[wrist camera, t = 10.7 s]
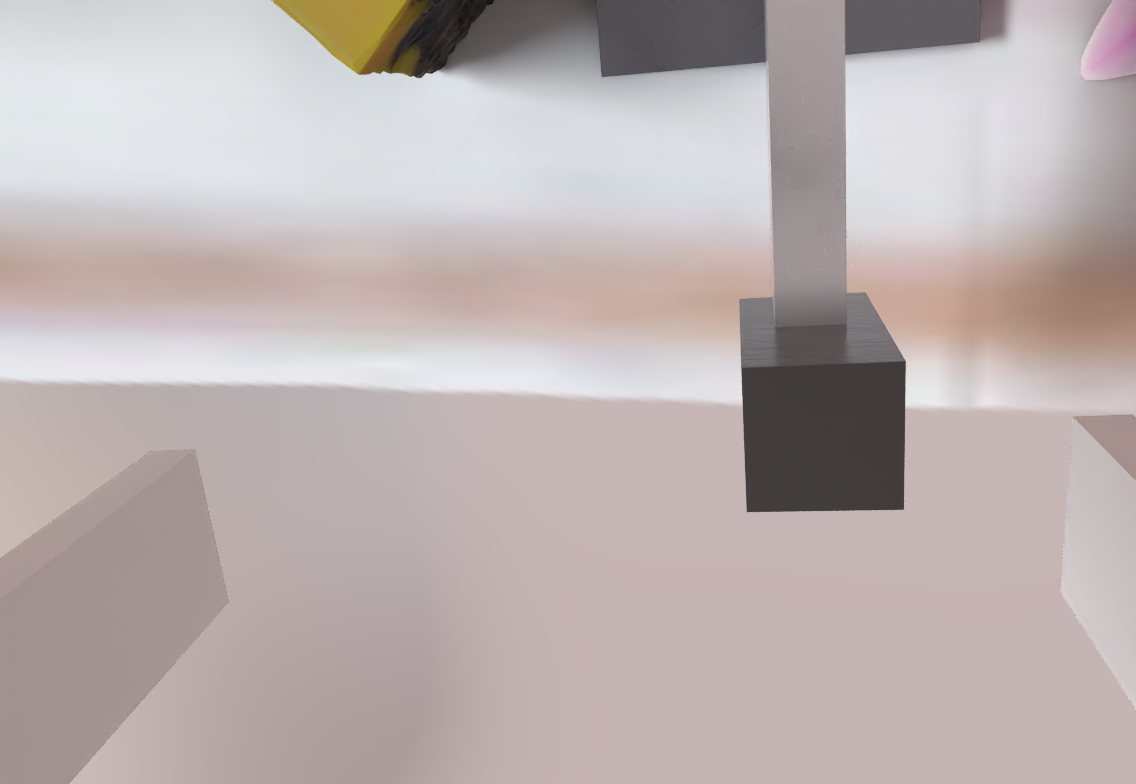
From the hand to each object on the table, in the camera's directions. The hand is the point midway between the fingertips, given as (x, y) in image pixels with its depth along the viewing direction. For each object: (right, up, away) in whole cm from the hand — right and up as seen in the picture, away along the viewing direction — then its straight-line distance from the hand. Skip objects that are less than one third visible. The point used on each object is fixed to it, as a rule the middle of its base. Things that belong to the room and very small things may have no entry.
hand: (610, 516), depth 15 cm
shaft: (+6, +14, +15) cm, 21 cm away
